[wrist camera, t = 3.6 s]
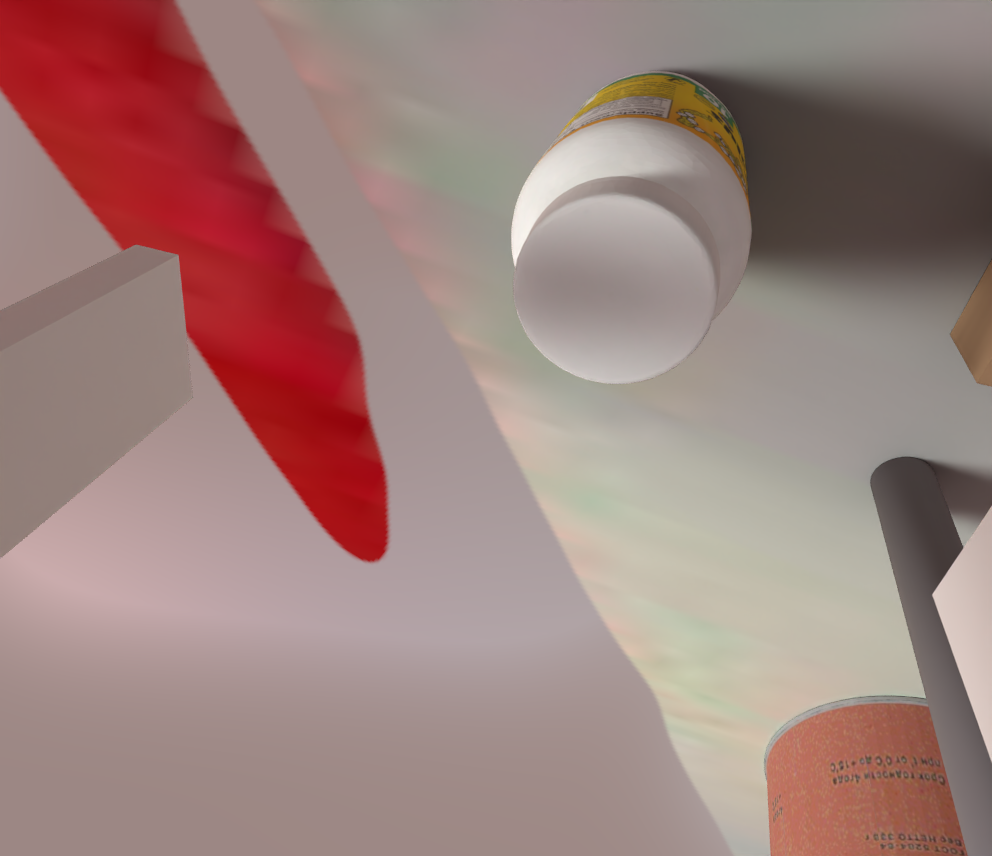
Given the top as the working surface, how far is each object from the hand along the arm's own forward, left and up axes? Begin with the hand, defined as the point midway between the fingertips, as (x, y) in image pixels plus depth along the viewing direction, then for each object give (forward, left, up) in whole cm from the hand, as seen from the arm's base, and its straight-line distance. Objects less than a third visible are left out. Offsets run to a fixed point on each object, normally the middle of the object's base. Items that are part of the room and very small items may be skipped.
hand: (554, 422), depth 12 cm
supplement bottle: (-1, 0, -14) cm, 14 cm away
